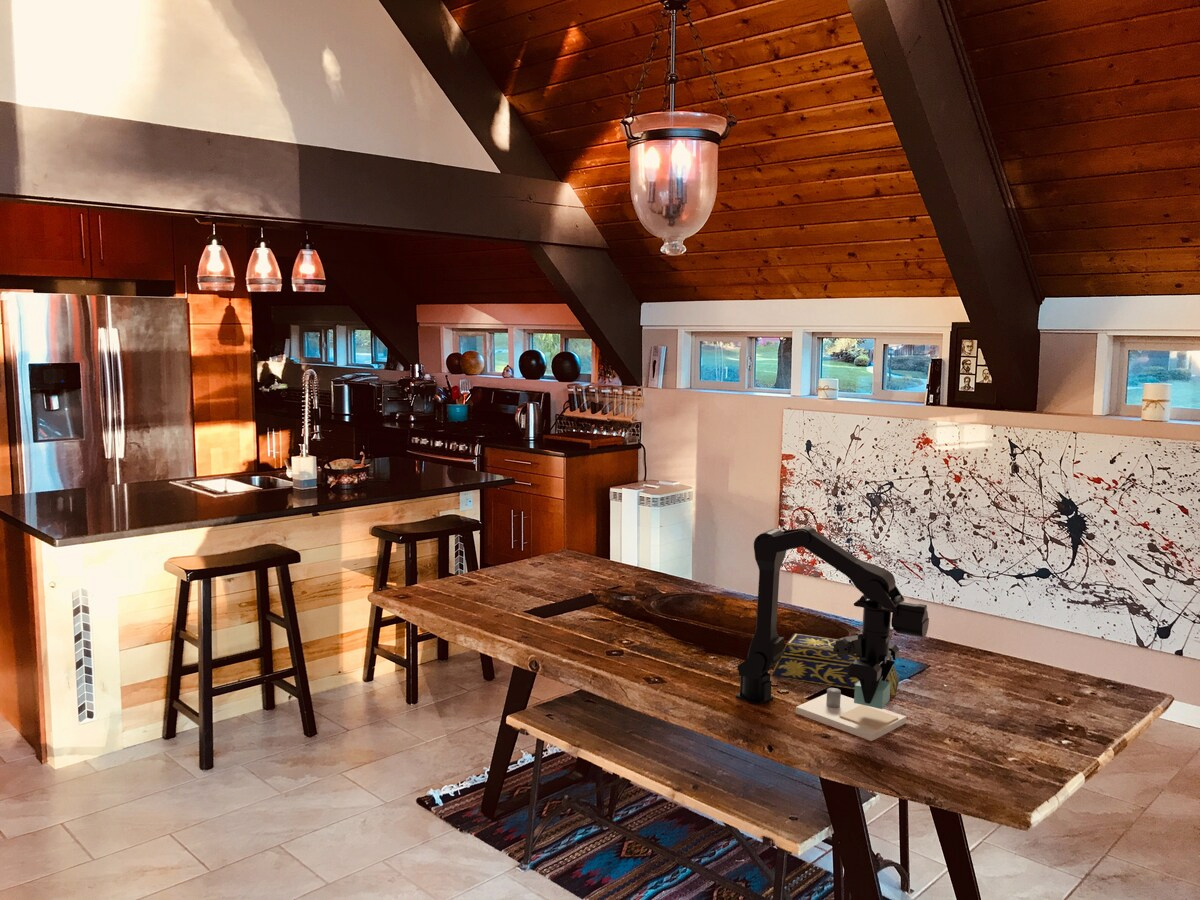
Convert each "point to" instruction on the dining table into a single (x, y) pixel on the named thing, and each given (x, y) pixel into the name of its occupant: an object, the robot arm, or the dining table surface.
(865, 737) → the board
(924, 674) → the dining table surface
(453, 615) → the dining table surface
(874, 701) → the mint green cube
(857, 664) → the robot arm
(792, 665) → the decorative box
